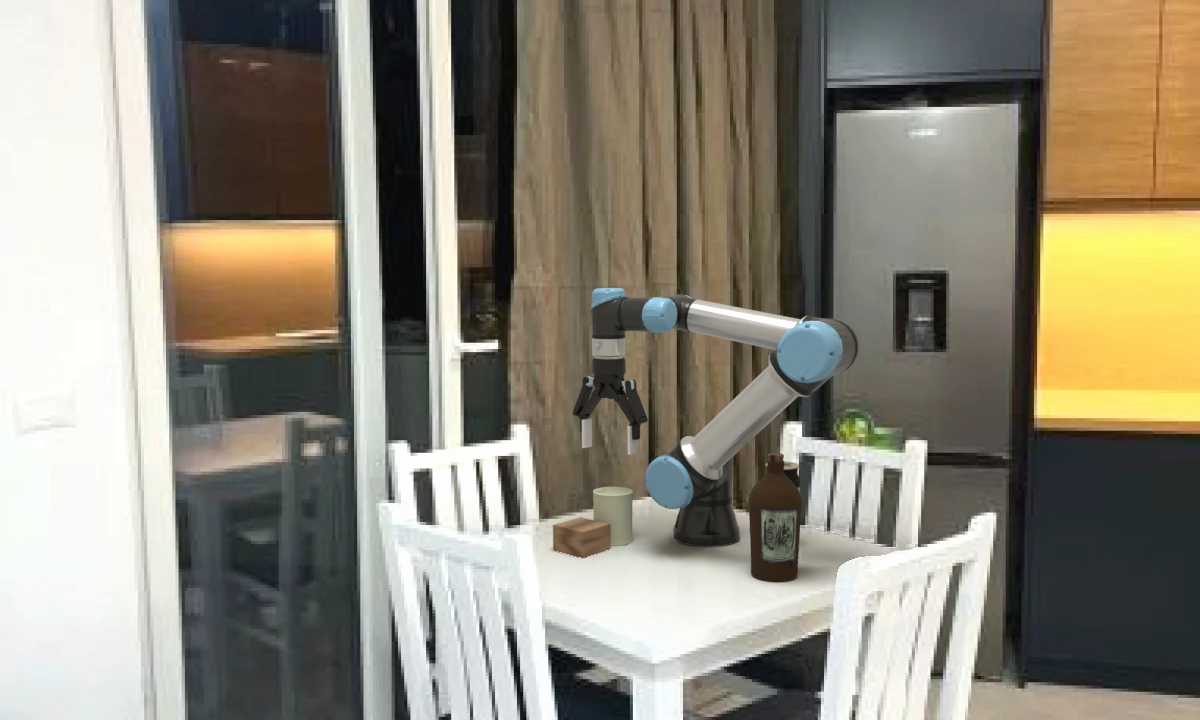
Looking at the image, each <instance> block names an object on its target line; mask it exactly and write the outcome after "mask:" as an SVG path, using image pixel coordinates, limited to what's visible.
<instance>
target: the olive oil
mask: <svg viewBox="0 0 1200 720" xmlns="http://www.w3.org/2000/svg"><path fill="white" fill-rule="evenodd" d="M784 456H785V455H784V454H783V453H779V452H771V453H768V454H767V461H766V463H767V467H766V469H767V470H766V471H767V472H766V473H765V474H764V475H763V476H762V477H761V478H760V479H759V480H758V481H757V483H756V484H754V485H753V487H752V488H751V491H750V494H749V498H748V515H749V539H750V540H749V543H750V546H749V547H750V574H751V576H752V577H753V578H754V579H757V580H760V581H765V582H773V583H782V582H790V581H794V580H795V579H797V578H798V572H799V571H798V570H799V554H800V553H799V551H800V535H801V534H800V533H801V522H802V507H803V501H802V496H801V491H800V492H799V490H798V488H797V487H796V486H795V485H794V484H793V483H792V481H791V480H790V479H789V478H788V477H787V476H786V475H785V473H784V461H785V460H784V458H785V457H784Z"/></svg>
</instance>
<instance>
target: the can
mask: <svg viewBox="0 0 1200 720" xmlns="http://www.w3.org/2000/svg"><path fill="white" fill-rule="evenodd" d="M633 494H634V490H632V488H628V487H624V486H603V487H598V488H597V487H596V488H594V489H593V490H592V497H593V499H592V500H593V520H595V521H599V522H604V523H608V524H611V547H618V546H619V547H621V546H625V545H629V543H630V544H631V543H633V542H634V537H633V500H634V499H633ZM620 545H621V546H620Z"/></svg>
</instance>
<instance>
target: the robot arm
mask: <svg viewBox="0 0 1200 720" xmlns="http://www.w3.org/2000/svg"><path fill="white" fill-rule="evenodd" d="M590 310H591V354H592V356H594V357H593V358H592V359H591V372H592V374H593V375H587V376H583V378H582V385H581V388H580V391H579V393H578V397H577V399H576V402H575V404H574V406H573V407H574V408H573V410H572V415H573V416H576V417H577V418H578V419H579V431H580V433H581V448H582V449H587V448H592V447H593V418H591V415H592V413H593V412H594V411H595V409H596V408H597V406H598V404H599V403H600V401H601V400H602V399H608V400H613V401H614V402H616V403H617V404H618V407H620V410H621V411H622V413H623V415H624V416H625V417H626V419H627V421H628V422H629V424H628V425H627V430H626V432H627V434H626V435H627V455H628V456H632V455H636V454H637V455H638V453H639V440H640V438H641V425H642V424H645V423H648V421H649V419H648V416H647V413H646V410H645V409H644V406H643V403H642V401H641V397H640V396H639V392H638V390H637V382H636V379H630V380H626V379H625V378H624V377H625V374H626V371H627V370H626V365H627V363H626V358H625V357H624V356H625V355H626V352H627V350H626V332H641V333H642V332H643V333H646V332H647V333H653V334H658V333H669V332H671V331H672V330H674V329H675V330H680V331H683V332H689V333H695V334H700V335H705V336H709V337H714V338H718V339H723V340H728V341H733V342H737V343H742V344H745V345H746V344H747V345H751V346H755V347H759V348H764V349H770V350H773V351H771V353H770V354H769V355H768V366H767V367H766V368H765V369H764V370H763V371H761V373H759V374H758V376H756V377H755V378H754V380H752V382H750V383H749V384H748V385H747V386H746V387H744V389H742V390H741V392H740V393H739V394H737V396H736V397H735V398H734V399H733V400H731V401H730V402H729V403H728V404H727V406H725V407H724V408H723V409H722V410H721V411H720V412H719V413H717V415H716V416H714V418H713V419H712V420H710V422H709V423H707V424H706V425H705V426H704V427H703V428H702V429H701V430H699V432H698V433H696V435H695V436H691V435H686V436H684V437H683V438H681V439H680V441H679V442H677V443H676V444H675V445H674V446H672V447H671V449H670V450H668V452H667V453H665V454H664V455H659V456H658V457H655V459H654V460H652V461H651V462H650V464H648V466H647V468H646V472H645V487H646V490H647V492H648V494H649V496H650V497H651V499H652V500H653V501H654V502H655V503H656V504H657V505H659V506H660V507H662V508H664V509H667V510H677V509H679V510H678V513H677V516H676V519H675V523H674V526H673V539H674V540H675V541H677V542H678V543H682V544H684V545H689V546H697V547H721V546H728V545H732V544H735V543H737V542H738V541H740V539H741V538H740V532H741V531H740V526H739V525H738V519H737V516H736V513H735V510H734V507H733V478H734V477H733V475H734V473H733V472H734V471H733V470H734V469H733V467H734V466H733V465H734V457H735V455H736V454H737V453H738V452H740V450H741V449H743V448H744V447H745V446H746V445H747V444H748V443H749V442H750V441H751V440H752V439H754V437H756V436H757V435H758V434H759V433H760V432H761V431H763V429H765V427H767V426H768V425H769V424H770V423H771V422H772V421H773V420H774V419H775V418H776V417H777V416H778V415H780V414H781V413H782V412H783V411H784V410H785V409H786V408H787V407H788V406H790V405H791V404H792V403H793V402H794V401H795V400H796V399H797V398H798V397H802V398H809V397H810V396H812V394H813V393H815V392H816V391H817V390H818V389H819V388H820V387H822V385H824V384H825V383H826V382H827V381H828V380H830V378H831V377H833V376H836V375H839V374H842V373H844V372H846V371H848V370H849V369H851V367H853V366H854V364H855V363H856V361H857V360H858V358H859V355H860V351H861V350H860V349H861V348H860V347H861V343H860V342H861V341H860V338H859V336H858V333H857V332H856V330H855V328H854V327H853V326H851V325H850V324H849V323H847V322H846V321H843V320H842V319H838V318H824V317H823V318H822V317H815V316H810V315H805V316H804V317H802V318H801V319H800V318H795V317H789V316H785V315H779V314H775V313H769V312H765V311H760V310H753V309H748V308H744V307H737V306H732V305H727V304H723V303H718V302H713V301H709V300H707V301H706V300H701V299H695V298H693V297H691V296H689V295H686V294H679V293H678V294H673V295H664V296H651V297H629V296H626V292H625V289H624V288H622V287H621V288H619V287H602V288H601V287H598V288H594V289H593V291H592V293H591V306H590ZM593 388H594V390H593Z"/></svg>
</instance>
